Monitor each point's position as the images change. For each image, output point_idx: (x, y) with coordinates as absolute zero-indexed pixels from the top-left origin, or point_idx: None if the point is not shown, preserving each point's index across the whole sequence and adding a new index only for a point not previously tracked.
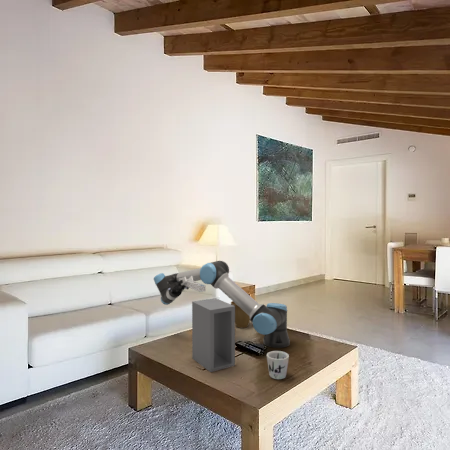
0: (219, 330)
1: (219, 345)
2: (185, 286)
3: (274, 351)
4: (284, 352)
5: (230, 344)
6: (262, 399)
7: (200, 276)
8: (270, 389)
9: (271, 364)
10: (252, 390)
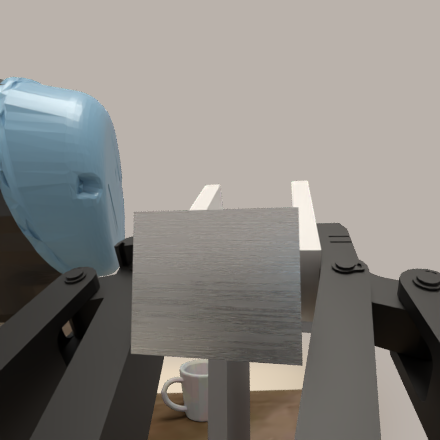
0: (238, 423)
1: None
2: (145, 425)
3: (190, 373)
4: (182, 366)
5: (249, 414)
6: (290, 394)
7: (105, 205)
8: (256, 400)
9: None
10: (286, 410)
